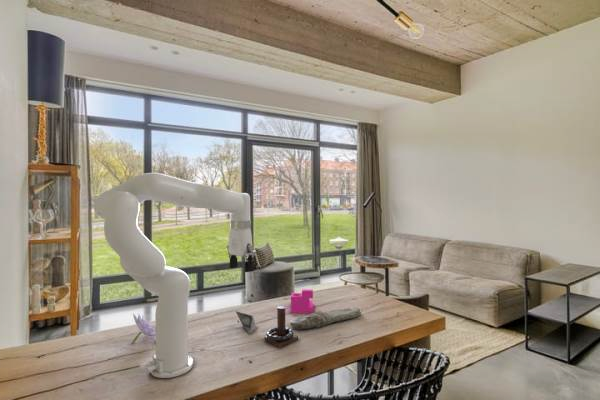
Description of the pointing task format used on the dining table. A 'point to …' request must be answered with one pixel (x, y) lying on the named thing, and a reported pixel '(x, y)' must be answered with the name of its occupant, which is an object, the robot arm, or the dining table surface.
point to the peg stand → (281, 330)
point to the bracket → (302, 301)
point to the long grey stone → (324, 318)
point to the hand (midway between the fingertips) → (240, 269)
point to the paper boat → (247, 321)
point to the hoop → (282, 338)
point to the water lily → (144, 328)
